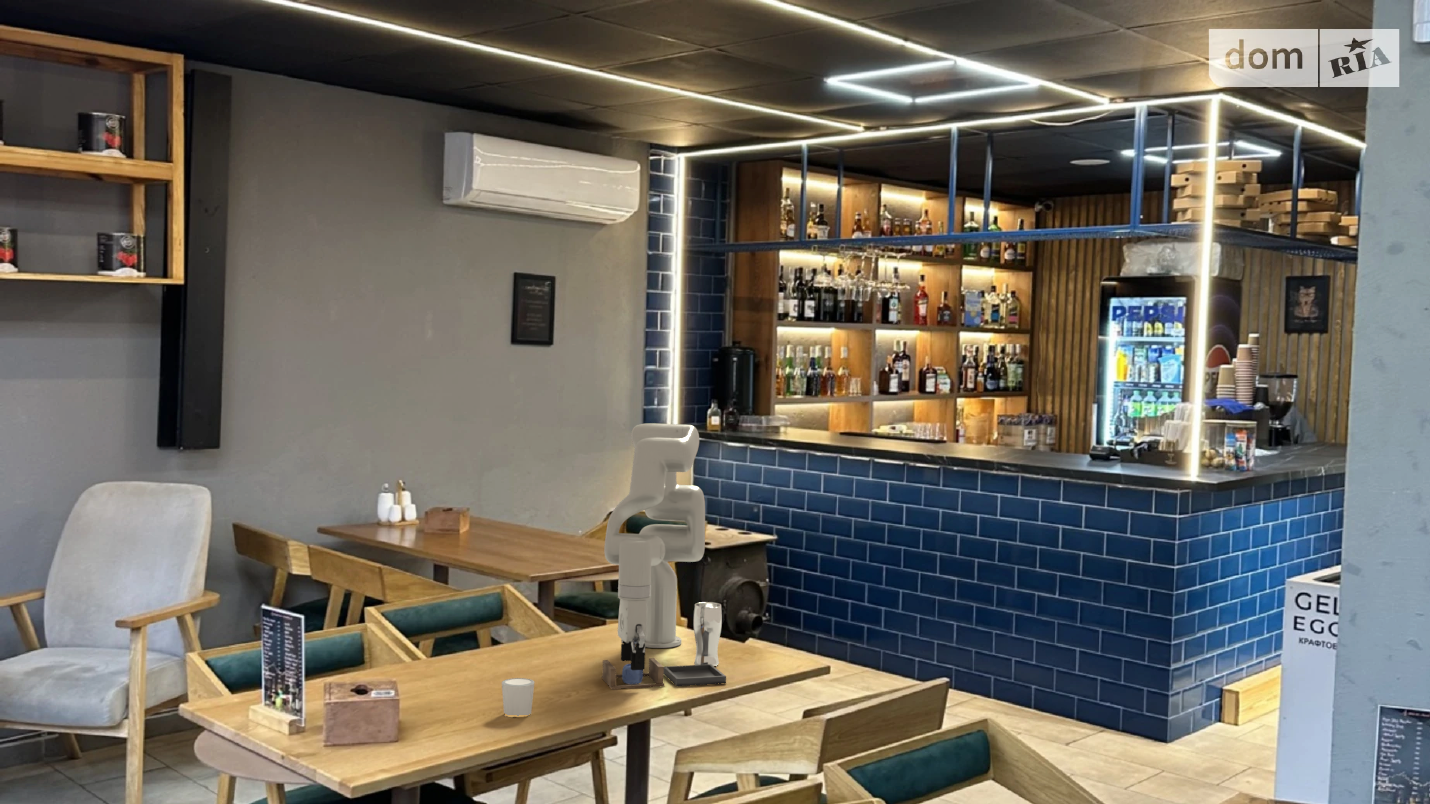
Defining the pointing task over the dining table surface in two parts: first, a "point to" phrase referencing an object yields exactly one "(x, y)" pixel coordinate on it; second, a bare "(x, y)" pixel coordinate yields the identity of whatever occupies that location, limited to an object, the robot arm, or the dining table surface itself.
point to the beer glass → (707, 632)
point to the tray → (694, 675)
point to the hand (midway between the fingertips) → (632, 665)
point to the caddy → (654, 674)
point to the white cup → (517, 696)
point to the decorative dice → (631, 675)
